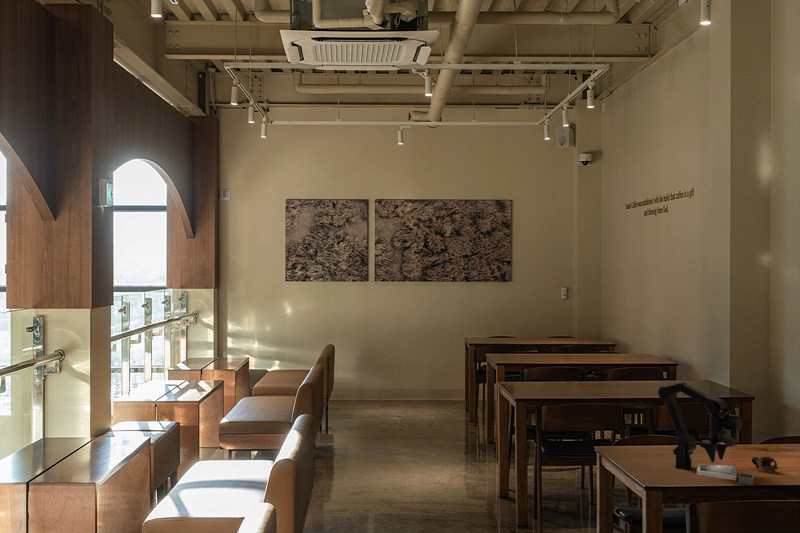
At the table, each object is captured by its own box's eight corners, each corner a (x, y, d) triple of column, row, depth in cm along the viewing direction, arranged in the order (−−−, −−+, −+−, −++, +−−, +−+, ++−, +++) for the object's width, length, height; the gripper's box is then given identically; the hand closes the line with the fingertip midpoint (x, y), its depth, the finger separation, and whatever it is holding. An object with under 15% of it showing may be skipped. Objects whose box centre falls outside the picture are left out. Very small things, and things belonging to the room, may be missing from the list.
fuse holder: (738, 485, 296) (738, 476, 296) (738, 481, 302) (739, 472, 301) (753, 487, 294) (753, 478, 294) (753, 483, 299) (753, 474, 299)
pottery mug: (781, 473, 316) (782, 460, 312) (771, 485, 312) (772, 472, 308) (755, 460, 325) (756, 448, 321) (745, 472, 321) (745, 459, 317)
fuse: (705, 467, 311) (731, 468, 301) (708, 462, 314) (734, 463, 304) (708, 474, 312) (734, 475, 302) (711, 469, 314) (737, 470, 304)
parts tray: (696, 477, 308) (696, 470, 308) (698, 470, 319) (698, 463, 319) (735, 482, 300) (736, 475, 300) (736, 475, 311) (736, 468, 311)
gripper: (722, 433, 297) (722, 468, 298) (745, 427, 308) (745, 461, 308) (699, 428, 307) (699, 462, 307) (721, 422, 317) (721, 455, 317)
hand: (716, 460), depth 309 cm, fingers open, 6 cm apart
